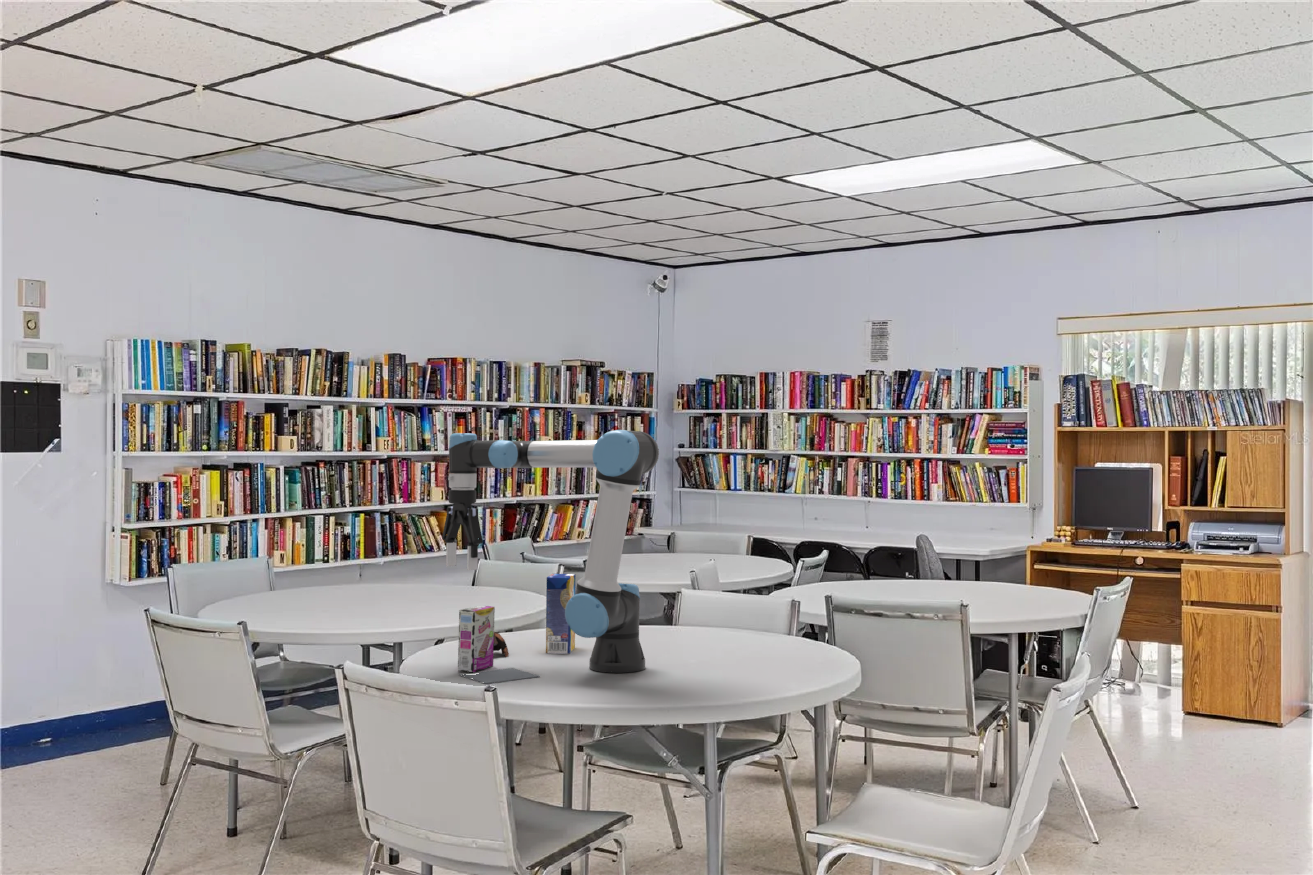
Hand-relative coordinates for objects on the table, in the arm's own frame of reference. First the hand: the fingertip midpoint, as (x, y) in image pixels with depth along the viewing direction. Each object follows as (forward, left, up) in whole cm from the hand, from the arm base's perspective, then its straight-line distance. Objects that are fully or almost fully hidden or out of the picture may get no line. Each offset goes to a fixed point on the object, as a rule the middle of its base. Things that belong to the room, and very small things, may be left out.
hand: (461, 568), depth 312 cm
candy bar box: (-9, 0, -27) cm, 28 cm away
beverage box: (+3, -34, -27) cm, 43 cm away
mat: (-22, 0, -26) cm, 34 cm away
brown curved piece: (+7, -14, -27) cm, 31 cm away
